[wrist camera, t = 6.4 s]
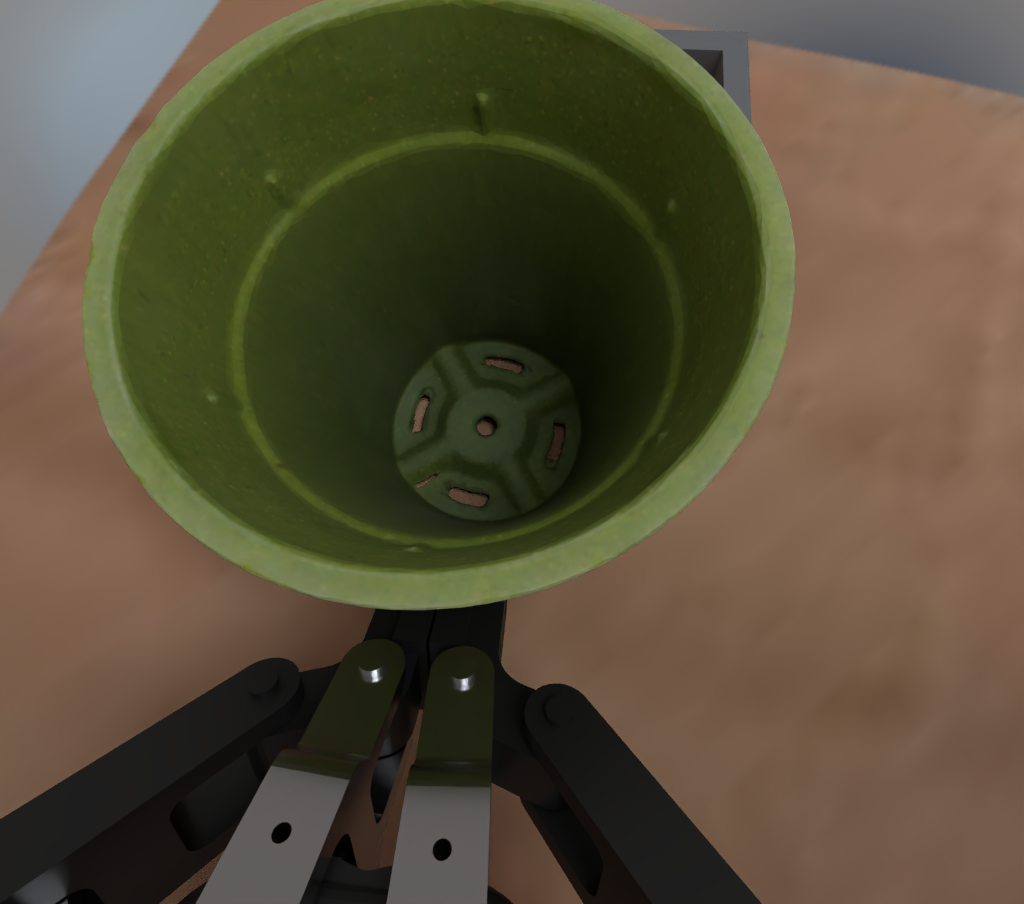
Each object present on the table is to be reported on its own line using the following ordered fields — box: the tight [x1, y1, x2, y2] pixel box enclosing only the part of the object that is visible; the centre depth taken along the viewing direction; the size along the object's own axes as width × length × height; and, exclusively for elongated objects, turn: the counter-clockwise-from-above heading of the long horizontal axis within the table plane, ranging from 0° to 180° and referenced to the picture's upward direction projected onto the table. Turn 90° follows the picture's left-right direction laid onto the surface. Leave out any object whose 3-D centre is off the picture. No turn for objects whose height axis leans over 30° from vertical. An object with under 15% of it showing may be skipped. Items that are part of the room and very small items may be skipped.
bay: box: [653, 29, 751, 124], centre depth 21 cm, size 18×14×2 cm
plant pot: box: [82, 0, 796, 610], centre depth 14 cm, size 12×12×11 cm
